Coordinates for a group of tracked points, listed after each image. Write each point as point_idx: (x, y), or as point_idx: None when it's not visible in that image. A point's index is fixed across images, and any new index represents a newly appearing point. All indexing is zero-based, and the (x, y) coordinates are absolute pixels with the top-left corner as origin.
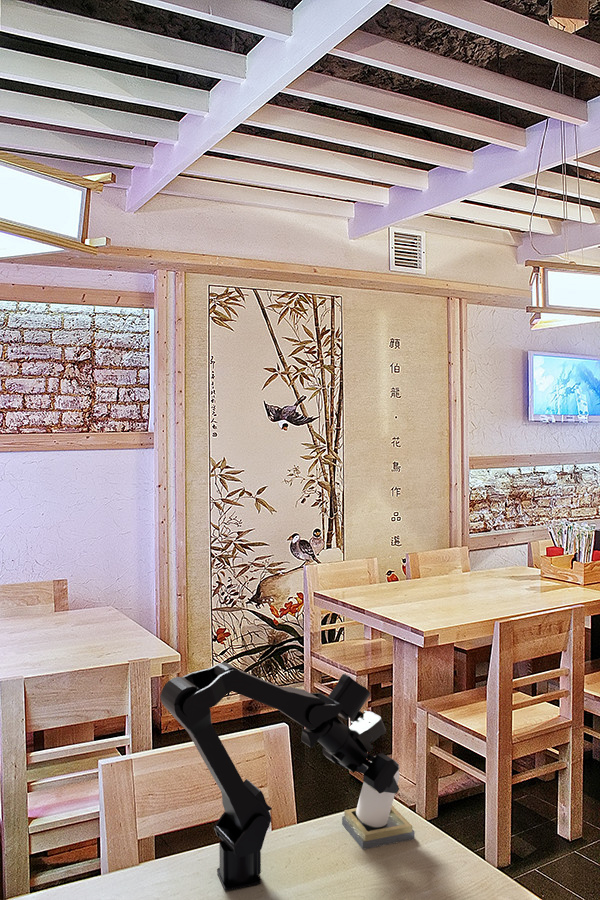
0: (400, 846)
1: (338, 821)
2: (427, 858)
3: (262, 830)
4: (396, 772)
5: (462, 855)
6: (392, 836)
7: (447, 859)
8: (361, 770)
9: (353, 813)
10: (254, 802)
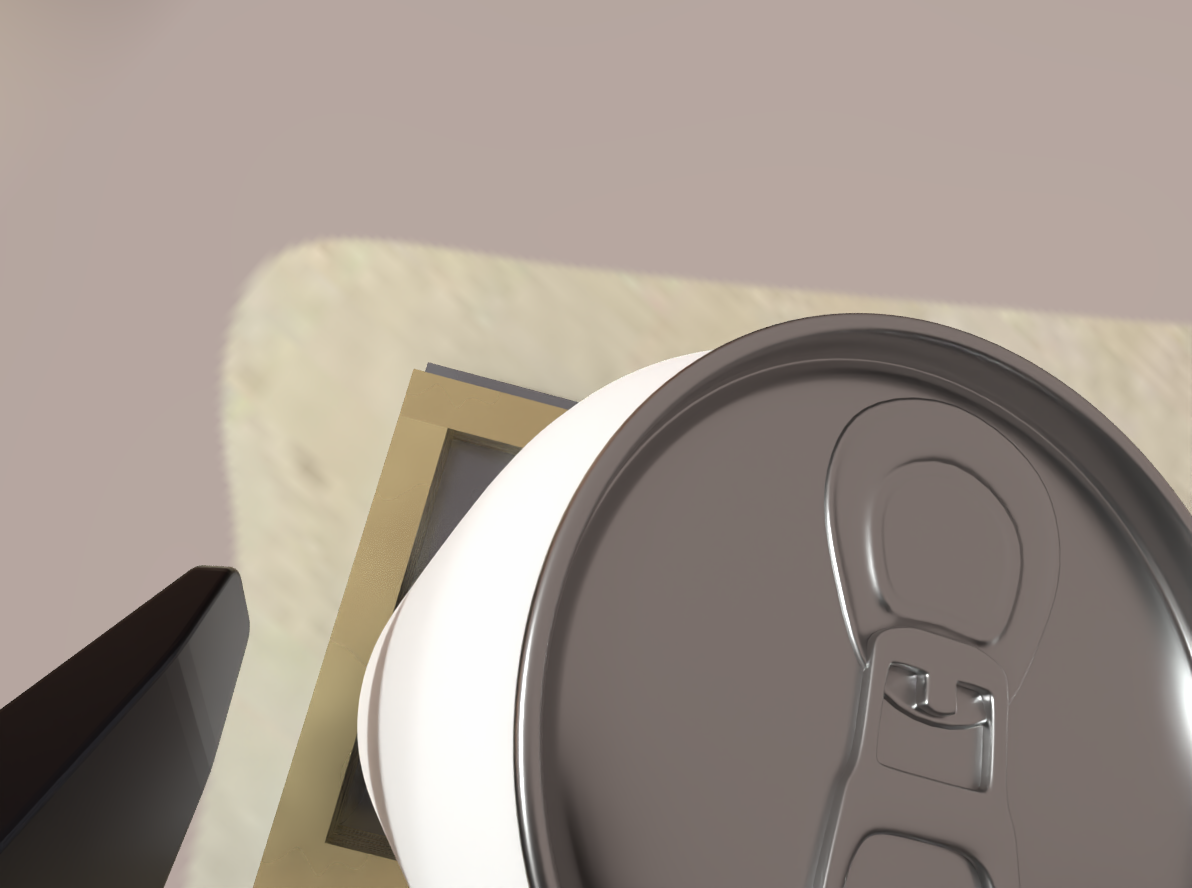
0: None
1: (226, 866)
2: None
3: None
4: (1189, 612)
5: (1178, 354)
6: None
7: (1172, 479)
8: (167, 818)
9: (339, 805)
10: None
